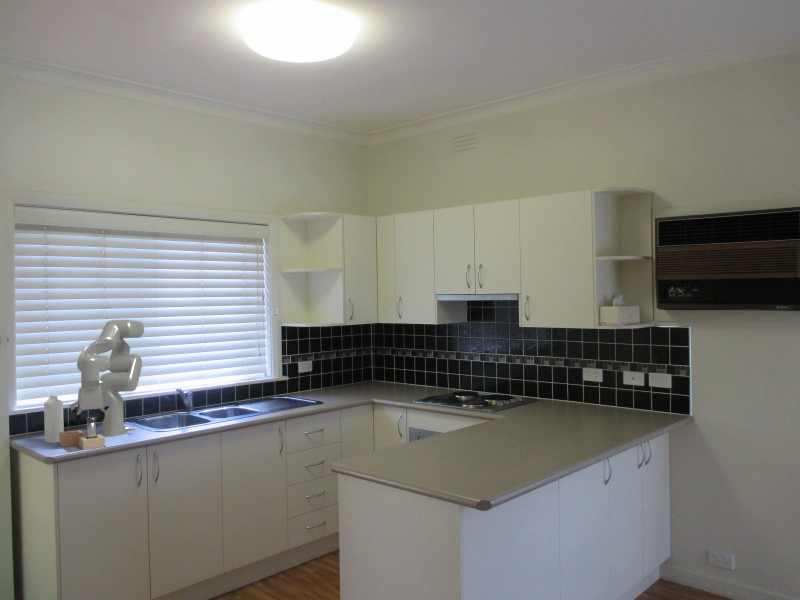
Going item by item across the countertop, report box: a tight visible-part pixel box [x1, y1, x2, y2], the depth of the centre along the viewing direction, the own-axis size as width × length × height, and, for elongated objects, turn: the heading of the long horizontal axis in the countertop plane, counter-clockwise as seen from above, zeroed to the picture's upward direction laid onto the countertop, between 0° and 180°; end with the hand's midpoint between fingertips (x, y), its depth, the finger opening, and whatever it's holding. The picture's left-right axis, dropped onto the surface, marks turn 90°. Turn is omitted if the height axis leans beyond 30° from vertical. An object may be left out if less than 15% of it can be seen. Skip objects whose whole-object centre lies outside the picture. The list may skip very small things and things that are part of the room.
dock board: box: [57, 429, 107, 453], centre depth 304 cm, size 16×24×6 cm, turn 37°
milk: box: [43, 395, 65, 444], centre depth 318 cm, size 6×6×22 cm
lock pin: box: [85, 416, 98, 439], centre depth 301 cm, size 4×4×13 cm
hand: (90, 422), depth 300 cm, fingers open, 9 cm apart
